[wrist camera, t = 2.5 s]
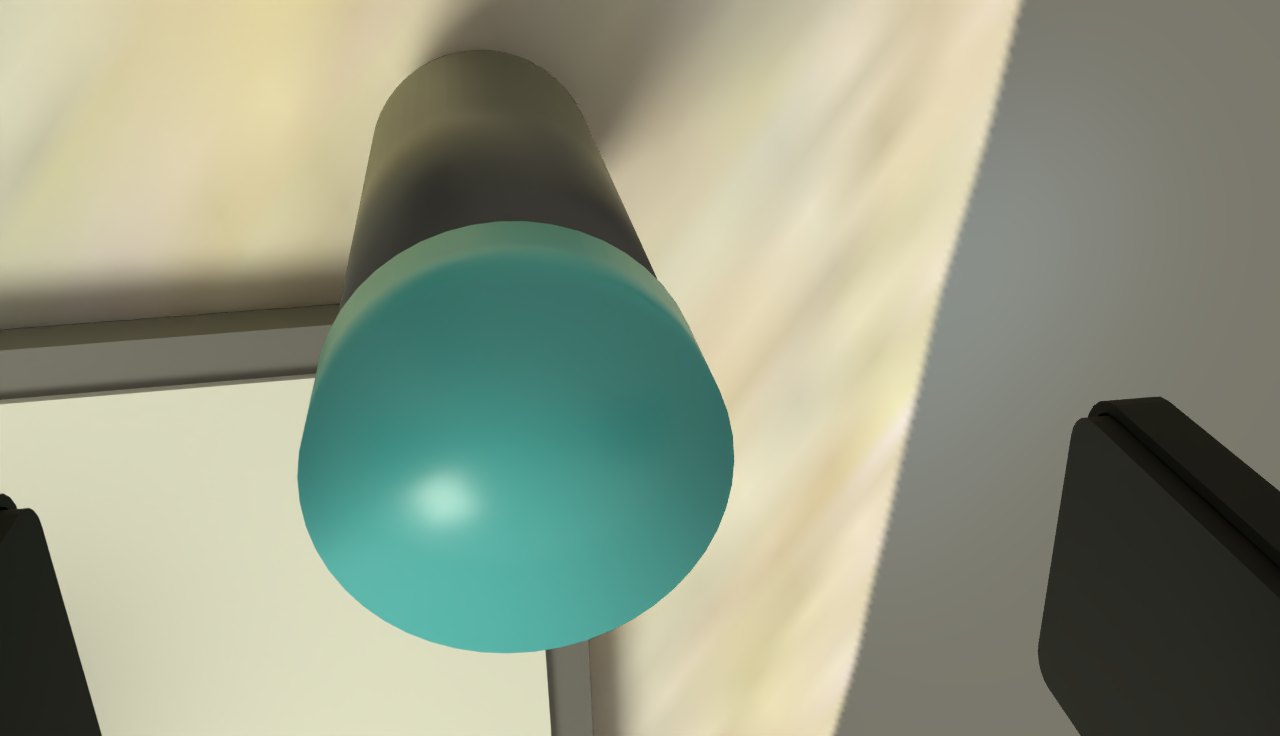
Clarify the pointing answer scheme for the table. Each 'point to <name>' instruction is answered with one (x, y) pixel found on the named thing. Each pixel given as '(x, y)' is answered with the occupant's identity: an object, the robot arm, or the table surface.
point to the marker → (506, 380)
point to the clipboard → (227, 544)
